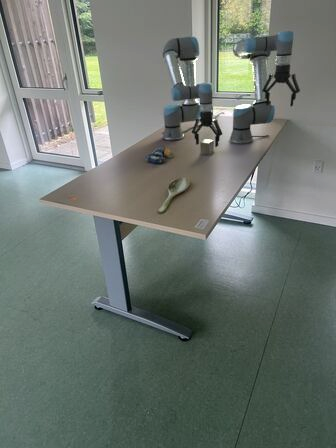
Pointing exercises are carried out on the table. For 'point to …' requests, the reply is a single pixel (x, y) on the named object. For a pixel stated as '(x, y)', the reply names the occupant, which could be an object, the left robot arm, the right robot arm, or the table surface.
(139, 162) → the table surface
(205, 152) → the grey metal block
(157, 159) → the blue toy gun
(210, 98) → the left robot arm
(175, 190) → the spoon
